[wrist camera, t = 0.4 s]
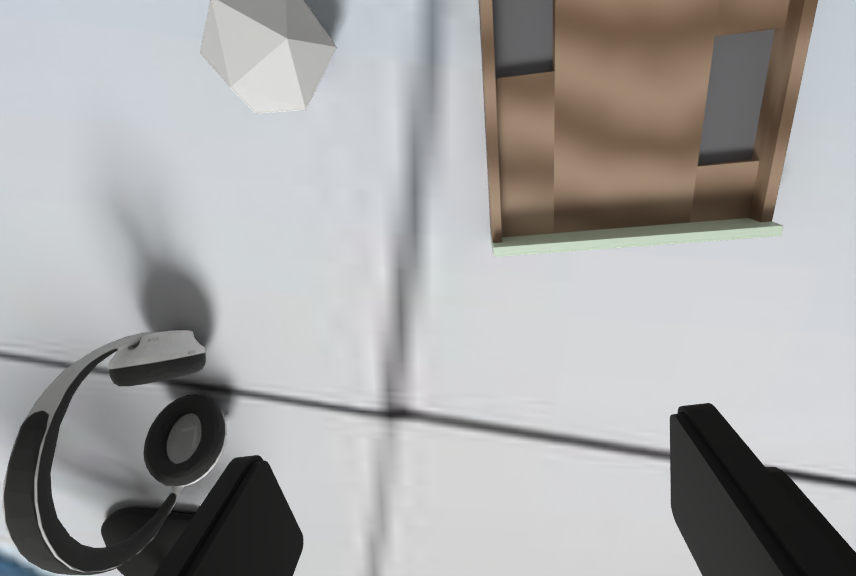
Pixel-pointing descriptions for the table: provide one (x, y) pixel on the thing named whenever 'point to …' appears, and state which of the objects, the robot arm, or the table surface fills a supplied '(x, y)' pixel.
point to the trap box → (634, 117)
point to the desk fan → (154, 553)
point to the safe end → (636, 236)
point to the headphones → (163, 452)
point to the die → (267, 51)
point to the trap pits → (727, 90)
